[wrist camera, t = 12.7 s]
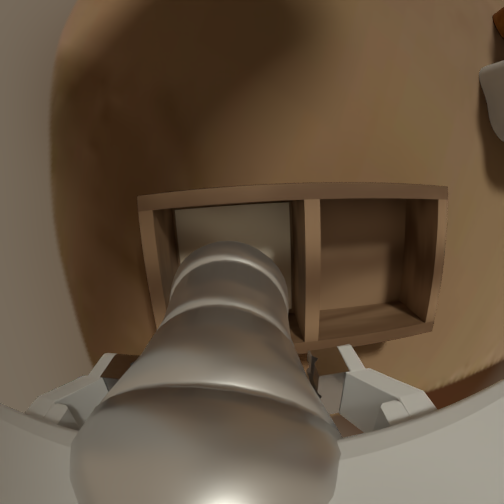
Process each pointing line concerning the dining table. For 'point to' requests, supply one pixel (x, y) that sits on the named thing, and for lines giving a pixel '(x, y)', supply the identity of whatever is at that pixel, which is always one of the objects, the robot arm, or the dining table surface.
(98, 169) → the dining table surface
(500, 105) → the lumpy-topped squat cylinder
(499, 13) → the disposable coffee cup
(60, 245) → the dining table surface
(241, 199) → the bottle carrier
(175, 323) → the metal bottle
